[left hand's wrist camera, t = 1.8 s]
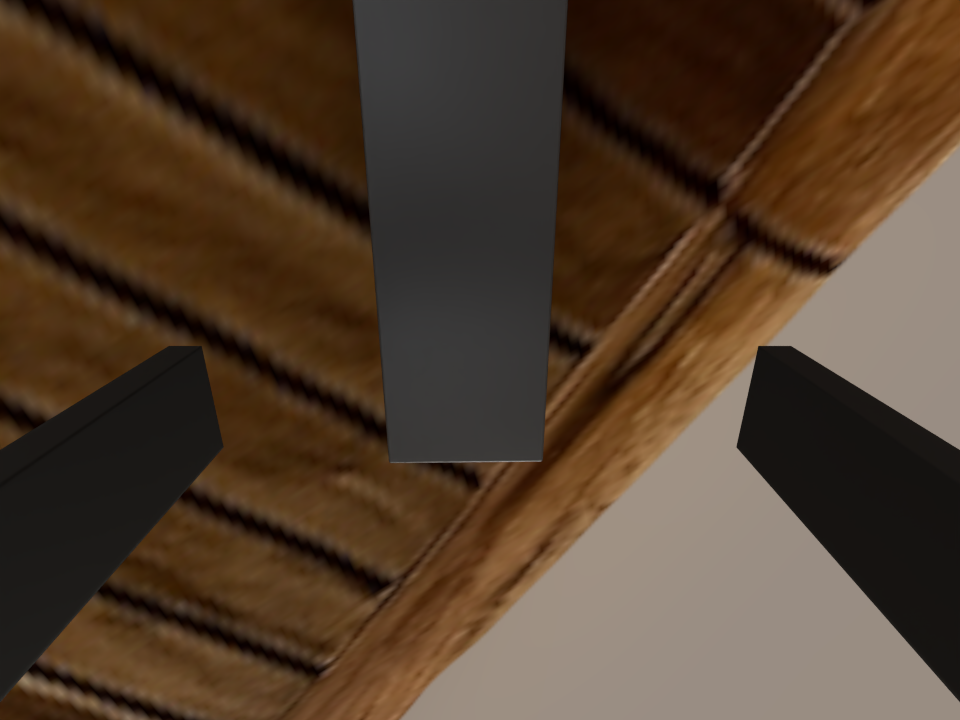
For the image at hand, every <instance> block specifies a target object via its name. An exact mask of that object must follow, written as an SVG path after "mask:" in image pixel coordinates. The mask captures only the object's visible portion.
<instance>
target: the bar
mask: <svg viewBox="0 0 960 720" xmlns="http://www.w3.org/2000/svg"><path fill="white" fill-rule="evenodd" d="M567 7H568V0H353V12H354V25H355V37H356V50H357V62H358V75H359V88H360V100H361V113H362V125H363V138H364V151H365V163H366V176H367V189H368V201H369V214H370V226H371V239H372V252H373V264H374V277H375V290H376V302H377V315H378V327H379V340H380V353H381V365H382V378H383V390H384V403H385V416H386V428H387V441H388V454H389V462H390V463H428V462H534V461H542V460H543V446H544V427H545V409H546V391H547V372H548V354H549V336H550V318H551V299H552V281H553V263H554V244H555V226H556V208H557V190H558V171H559V153H560V135H561V116H562V98H563V80H564V62H565V43H566V25H567Z"/></svg>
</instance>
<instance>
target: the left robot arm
mask: <svg viewBox="0 0 960 720" xmlns="http://www.w3.org/2000/svg"><path fill="white" fill-rule="evenodd" d="M222 448H223V443H222V438H221V433H220V429H219V424H218V420H217V415H216V410H215V406H214V401H213V397H212V392H211V387H210V383H209V378H208V374H207V369H206V364H205V360H204V355H203V351H202V346H168V347H167V348H165V349H164V350H162V351H160V352H159V353H157V354H155V355H154V356H152V357H151V358H149V359H147V360H146V361H144V362H142V363H141V364H139V365H138V366H136V367H134V368H133V369H131V370H129V371H128V372H126V373H125V374H123V375H121V376H120V377H118V378H116V379H115V380H113V381H112V382H110V383H108V384H107V385H105V386H103V387H102V388H100V389H99V390H97V391H95V392H94V393H92V394H90V395H89V396H87V397H86V398H84V399H82V400H81V401H79V402H77V403H76V404H74V405H73V406H71V407H69V408H68V409H66V410H64V411H63V412H61V413H60V414H58V415H56V416H55V417H53V418H51V419H50V420H48V421H47V422H45V423H43V424H42V425H40V426H38V427H37V428H35V429H34V430H32V431H30V432H29V433H27V434H25V435H24V436H22V437H21V438H19V439H17V440H16V441H14V442H13V443H11V444H9V445H8V446H6V447H4V448H3V449H1V450H0V702H1V700H2V699H3V698H4V697H5V696H6V695H7V694H8V692H9V691H10V690H11V689H12V688H13V687H14V686H15V684H16V683H17V682H18V681H19V680H20V679H21V678H22V676H23V675H24V674H25V673H26V672H27V671H28V670H29V668H30V667H31V666H32V665H33V664H34V663H35V662H36V660H37V659H38V658H39V657H40V656H41V655H42V654H43V652H44V651H45V650H46V649H47V648H48V647H49V646H50V645H51V643H52V642H53V641H54V640H55V639H56V638H57V637H58V635H59V634H60V633H61V632H62V631H63V630H64V629H65V627H66V626H67V625H68V624H69V623H70V622H71V621H72V619H73V618H74V617H75V616H76V615H77V614H78V613H79V611H80V610H81V609H82V608H83V607H84V606H85V605H86V603H87V602H88V601H89V600H90V599H91V598H92V597H93V595H94V594H95V593H96V592H97V591H98V590H99V589H100V587H101V586H102V585H103V584H104V583H105V582H106V581H107V579H108V578H109V577H110V576H111V575H112V574H113V573H114V571H115V570H116V569H117V568H118V567H119V566H120V565H121V564H122V562H123V561H124V560H125V559H126V558H127V557H128V556H129V554H130V553H131V552H132V551H133V550H134V549H135V548H136V546H137V545H138V544H139V543H140V542H141V541H142V540H143V538H144V537H145V536H146V535H147V534H148V533H149V532H150V530H151V529H152V528H153V527H154V526H155V525H156V524H157V522H158V521H159V520H160V519H161V518H162V517H163V516H164V514H165V513H166V512H167V511H168V510H169V509H170V508H171V506H172V505H173V504H174V503H175V502H176V501H177V500H178V498H179V497H180V496H181V495H182V494H183V493H184V492H185V491H186V489H187V488H188V487H189V486H190V485H191V484H192V483H193V481H194V480H195V479H196V478H197V477H198V476H199V475H200V473H201V472H202V471H203V470H204V469H205V468H206V467H207V465H208V464H209V463H210V462H211V461H212V460H213V459H214V457H215V456H216V455H217V454H218V453H219V452H220V451H221V449H222ZM737 448H738V449H739V451H740V452H741V453H742V454H743V455H744V456H745V457H746V458H747V460H748V461H749V462H750V463H751V464H752V465H753V467H754V468H755V469H756V470H757V471H758V472H759V473H760V474H761V476H762V477H763V478H764V479H765V480H766V481H767V483H768V484H769V485H770V486H771V487H772V488H773V489H774V490H775V492H776V493H777V494H778V495H779V496H780V497H781V498H782V500H783V501H784V502H785V503H786V504H787V505H788V506H789V508H790V509H791V510H792V511H793V512H794V513H795V514H796V516H797V517H798V518H799V519H800V520H801V521H802V522H803V524H804V525H805V526H806V527H807V528H808V529H809V530H810V532H811V533H812V534H813V535H814V536H815V537H816V538H817V540H818V541H819V542H820V543H821V544H822V545H823V546H824V548H825V549H826V550H827V551H828V552H829V553H830V554H831V556H832V557H833V558H834V559H835V560H836V561H837V562H838V564H839V565H840V566H841V567H842V568H843V569H844V570H845V571H846V573H847V574H848V575H849V576H850V577H851V578H852V579H853V581H854V582H855V583H856V584H857V585H858V586H859V587H860V589H861V590H862V591H863V592H864V593H865V594H866V595H867V597H868V598H869V599H870V600H871V601H872V602H873V603H874V605H875V606H876V607H877V608H878V609H879V610H880V611H881V613H882V614H883V615H884V616H885V617H886V618H887V619H888V620H889V622H890V623H891V624H892V625H893V626H894V627H895V628H896V630H897V631H898V632H899V633H900V634H901V635H902V637H903V638H904V639H905V640H906V641H907V642H908V643H909V644H910V646H911V647H912V648H913V649H914V650H915V651H916V652H917V654H918V655H919V656H920V657H921V658H922V659H923V660H924V662H925V663H926V664H927V665H928V666H929V667H930V668H931V670H932V671H933V672H934V673H935V674H936V675H937V676H938V678H939V679H940V680H941V681H942V682H943V683H944V684H945V686H946V687H947V688H948V689H949V690H950V691H951V692H952V694H953V695H954V696H955V697H956V698H957V699H958V700H959V701H960V450H959V449H957V448H956V447H954V446H952V445H951V444H949V443H947V442H946V441H944V440H943V439H941V438H939V437H938V436H936V435H935V434H933V433H931V432H930V431H928V430H926V429H925V428H923V427H921V426H920V425H918V424H917V423H915V422H913V421H912V420H910V419H909V418H907V417H905V416H904V415H902V414H900V413H899V412H897V411H896V410H894V409H892V408H891V407H889V406H887V405H886V404H884V403H883V402H881V401H879V400H878V399H876V398H874V397H873V396H871V395H870V394H868V393H866V392H865V391H863V390H861V389H860V388H858V387H857V386H855V385H853V384H852V383H850V382H848V381H847V380H845V379H844V378H842V377H840V376H839V375H837V374H835V373H834V372H832V371H831V370H829V369H827V368H826V367H824V366H822V365H821V364H819V363H818V362H816V361H814V360H813V359H811V358H809V357H808V356H806V355H805V354H803V353H801V352H800V351H798V350H796V349H795V348H793V347H792V346H758V351H757V355H756V360H755V364H754V369H753V374H752V378H751V383H750V387H749V392H748V397H747V401H746V406H745V410H744V415H743V420H742V424H741V429H740V433H739V438H738V443H737Z"/></svg>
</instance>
